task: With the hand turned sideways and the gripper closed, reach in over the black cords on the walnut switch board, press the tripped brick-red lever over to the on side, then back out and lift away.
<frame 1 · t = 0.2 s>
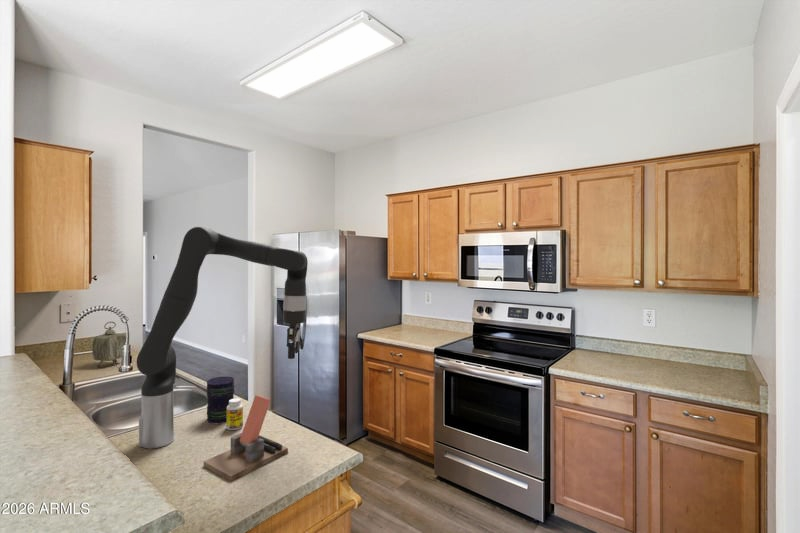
hand: (293, 355, 138), 29 cm above the countertop, tool pointing down, fingers open, 8 cm apart
switch board: (247, 459, 124), on the countertop
supplement bottle: (234, 428, 147), on the countertop
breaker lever: (254, 421, 126), point 11 cm above the countertop, hinge at -25.0°
storage jar: (220, 418, 155), on the countertop
tabletop clock: (111, 365, 229), on the countertop
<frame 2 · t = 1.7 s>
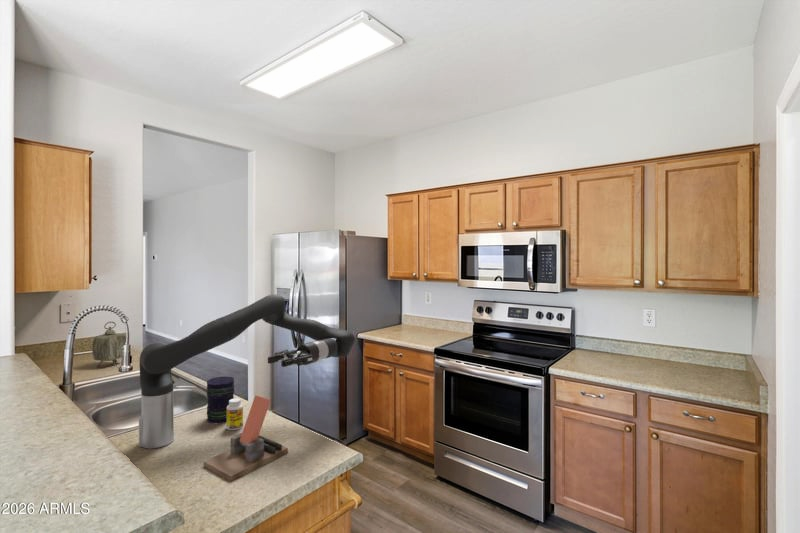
hand: (275, 362, 132), 28 cm above the countertop, tool horizontal, fingers open, 6 cm apart
nothing on the countertop moved.
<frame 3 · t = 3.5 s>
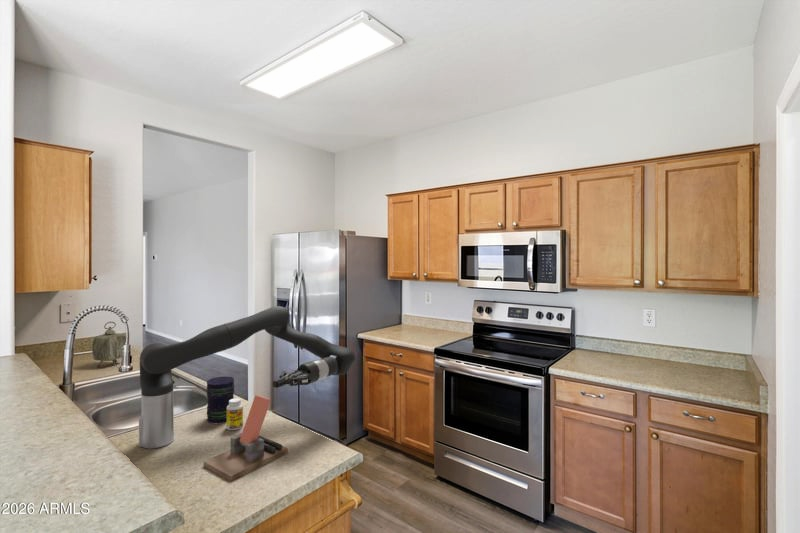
hand: (274, 384, 132), 21 cm above the countertop, tool horizontal, fingers closed
nothing on the countertop moved.
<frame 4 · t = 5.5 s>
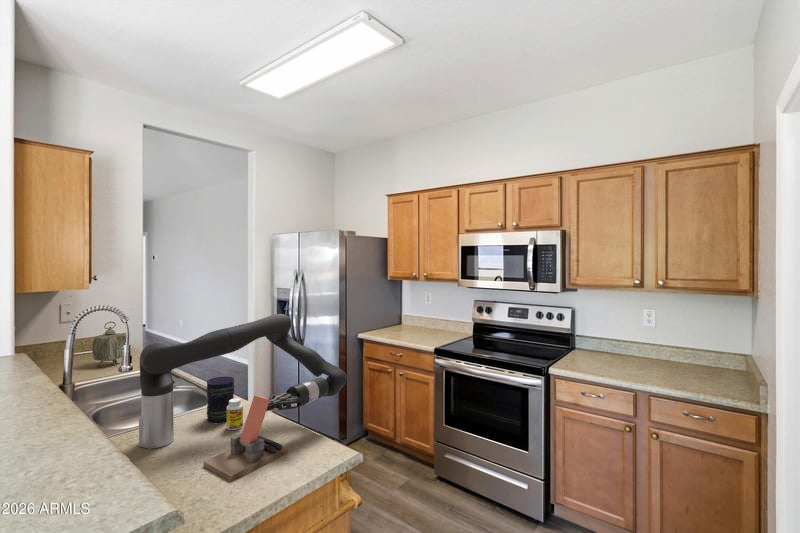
hand: (262, 408, 128), 14 cm above the countertop, tool horizontal, fingers closed
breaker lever: (254, 421, 126), point 11 cm above the countertop, hinge at -23.1°, touching gripper
everything else where it was.
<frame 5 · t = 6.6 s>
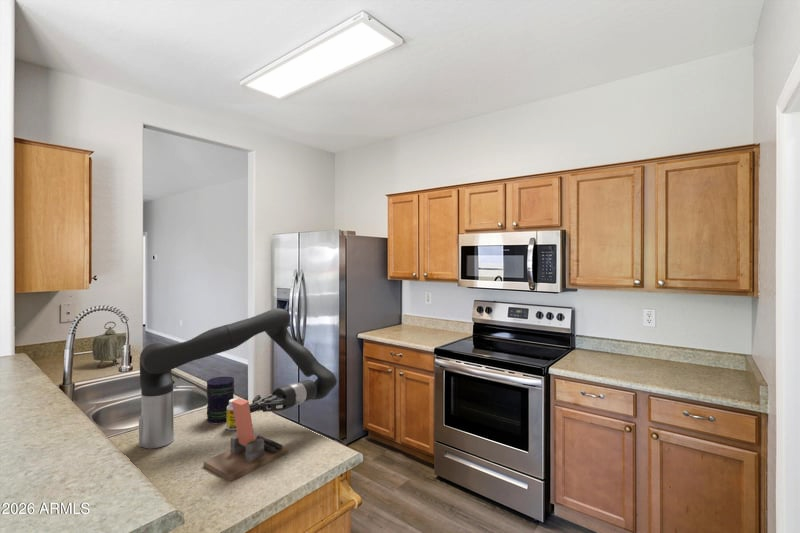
hand: (245, 410, 124), 16 cm above the countertop, tool horizontal, fingers closed
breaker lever: (243, 424, 123), point 11 cm above the countertop, hinge at 9.7°, touching gripper
everything else where it was.
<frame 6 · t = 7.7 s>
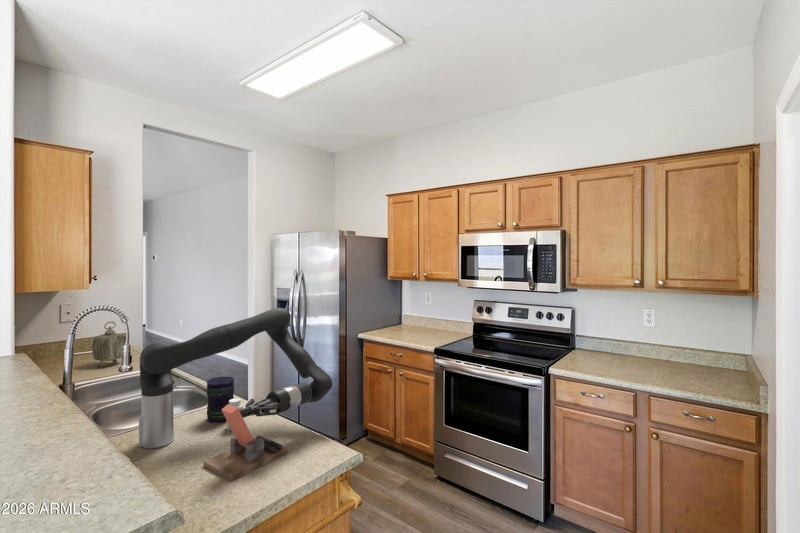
hand: (238, 414, 122), 15 cm above the countertop, tool horizontal, fingers closed
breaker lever: (239, 427, 122), point 11 cm above the countertop, hinge at 24.8°, touching gripper
everything else where it was.
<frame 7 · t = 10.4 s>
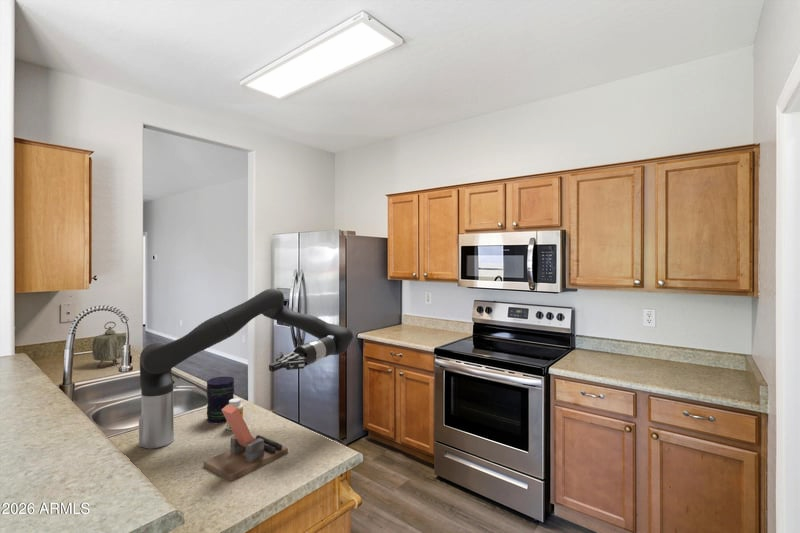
hand: (270, 368, 131), 26 cm above the countertop, tool horizontal, fingers closed
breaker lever: (239, 427, 122), point 11 cm above the countertop, hinge at 24.9°
everything else where it was.
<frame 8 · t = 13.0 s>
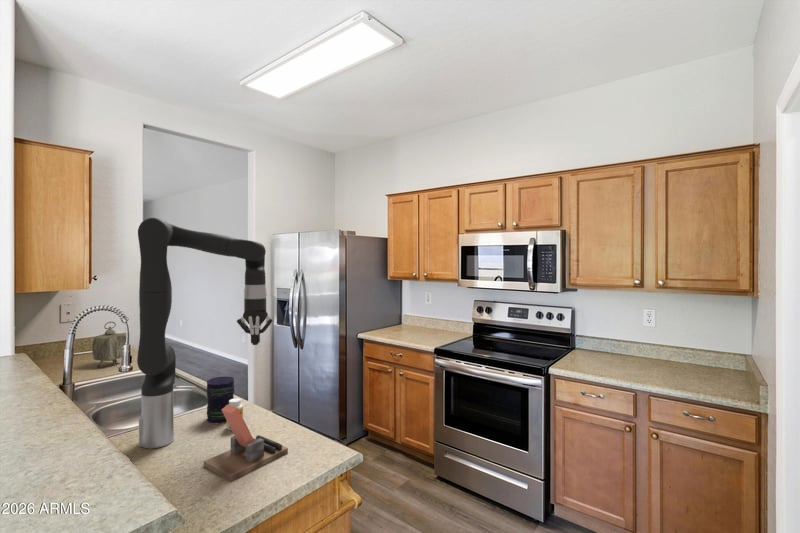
hand: (255, 344, 145), 31 cm above the countertop, tool pointing down, fingers closed
nothing on the countertop moved.
at the end: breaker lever at +25° (first picture: -25°); supplement bottle moved 0.2 cm from its start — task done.
